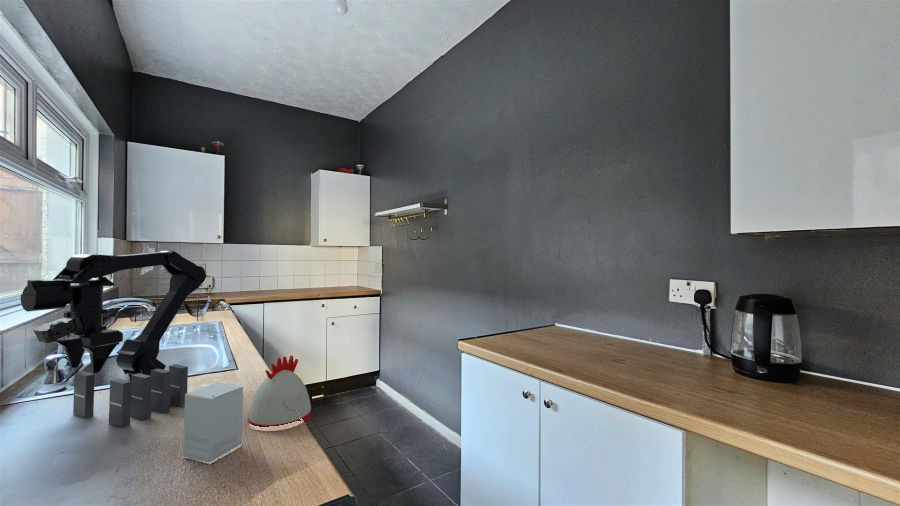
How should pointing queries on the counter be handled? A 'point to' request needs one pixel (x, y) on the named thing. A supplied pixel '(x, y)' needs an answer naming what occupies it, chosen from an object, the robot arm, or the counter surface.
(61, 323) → the robot arm
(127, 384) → the domino
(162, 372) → the domino
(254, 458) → the counter surface
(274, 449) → the counter surface
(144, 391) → the domino
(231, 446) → the supplement box
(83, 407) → the domino
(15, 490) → the counter surface
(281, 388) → the grey chicken figure
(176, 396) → the domino
